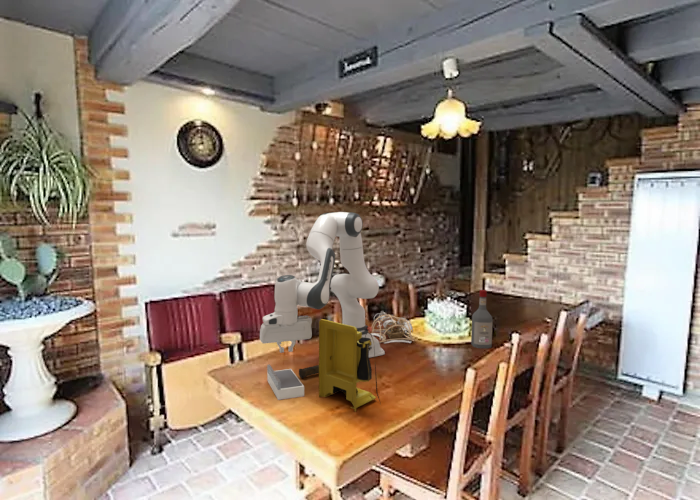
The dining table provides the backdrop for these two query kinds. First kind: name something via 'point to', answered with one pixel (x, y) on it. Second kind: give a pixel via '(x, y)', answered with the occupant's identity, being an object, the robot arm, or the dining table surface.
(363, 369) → the vintage telephone
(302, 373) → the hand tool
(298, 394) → the grey open box
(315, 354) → the dining table surface
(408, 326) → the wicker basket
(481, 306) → the liquor
